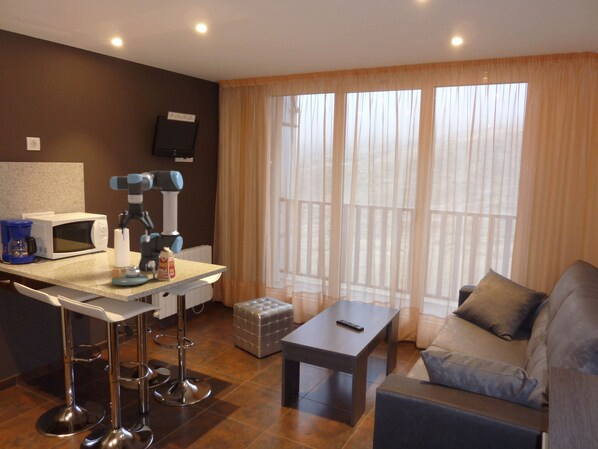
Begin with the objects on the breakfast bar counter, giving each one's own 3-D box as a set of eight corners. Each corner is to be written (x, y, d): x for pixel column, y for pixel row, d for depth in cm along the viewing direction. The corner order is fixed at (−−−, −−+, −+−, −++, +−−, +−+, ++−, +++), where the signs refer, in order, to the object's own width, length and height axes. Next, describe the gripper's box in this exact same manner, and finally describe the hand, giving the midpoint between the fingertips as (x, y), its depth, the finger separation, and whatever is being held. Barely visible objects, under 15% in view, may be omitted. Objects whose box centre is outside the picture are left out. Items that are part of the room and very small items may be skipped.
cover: (129, 274, 274) (129, 265, 273) (142, 275, 273) (142, 265, 272) (123, 277, 266) (123, 268, 265) (136, 278, 265) (136, 268, 264)
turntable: (121, 275, 276) (121, 265, 275) (153, 277, 275) (153, 266, 274) (104, 284, 257) (104, 272, 256) (139, 285, 255) (139, 274, 254)
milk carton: (170, 280, 274) (169, 247, 271) (155, 279, 276) (155, 247, 273) (177, 277, 283) (176, 245, 280) (163, 276, 285) (162, 244, 282)
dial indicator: (149, 279, 275) (149, 259, 273) (158, 280, 275) (158, 260, 273) (145, 281, 270) (145, 261, 268) (155, 282, 269) (154, 262, 268)
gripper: (110, 202, 248) (112, 240, 251) (152, 203, 243) (153, 243, 246) (118, 201, 256) (119, 238, 258) (159, 202, 251) (160, 240, 254)
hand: (136, 240), depth 252 cm, fingers open, 13 cm apart
